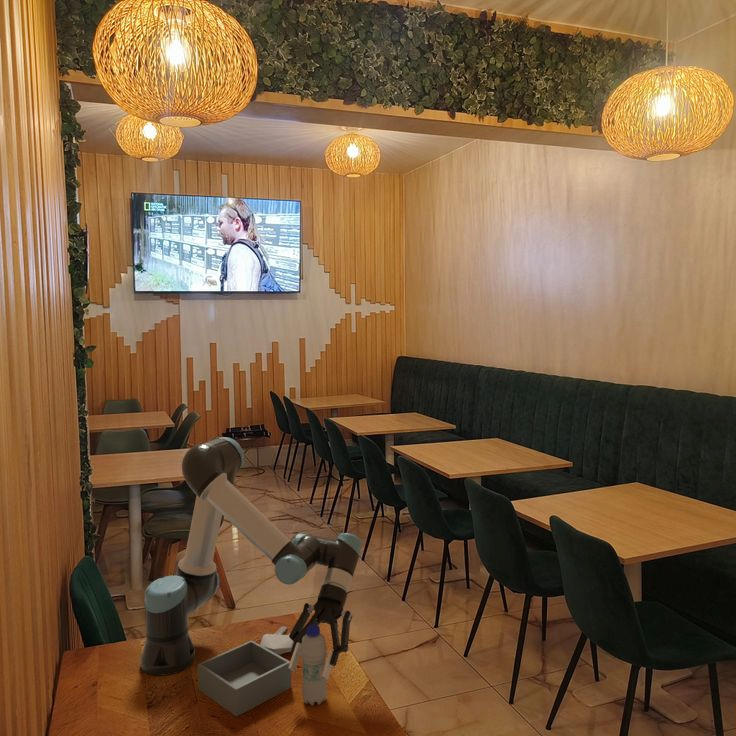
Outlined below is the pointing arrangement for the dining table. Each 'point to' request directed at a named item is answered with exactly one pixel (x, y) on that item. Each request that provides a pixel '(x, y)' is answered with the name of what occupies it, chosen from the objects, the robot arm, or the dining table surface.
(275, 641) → the turret
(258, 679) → the tray
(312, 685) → the bottle
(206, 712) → the dining table surface
